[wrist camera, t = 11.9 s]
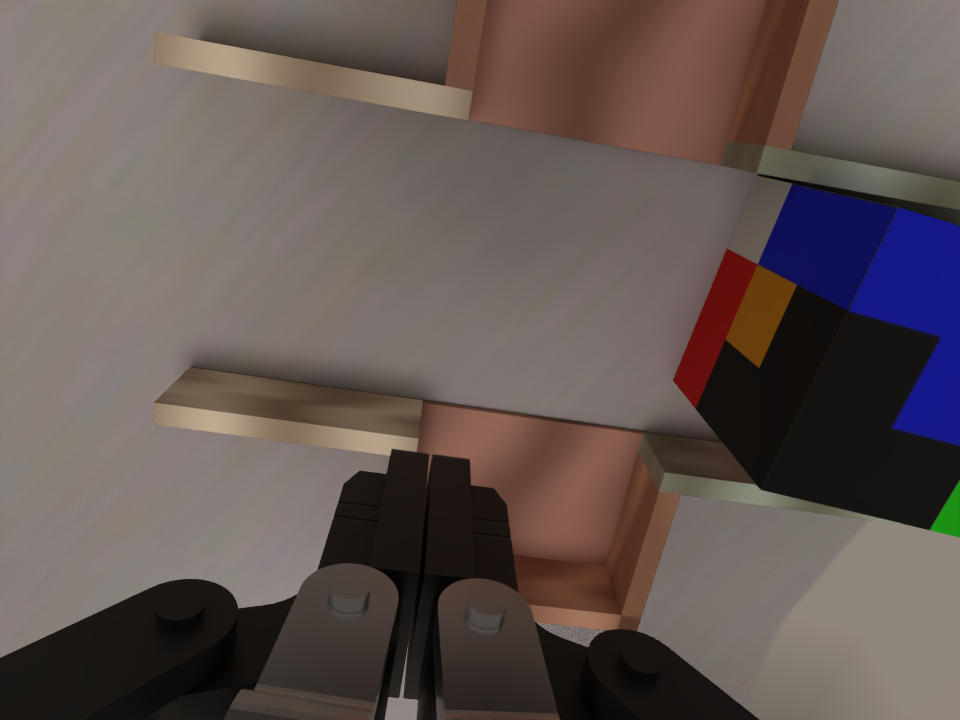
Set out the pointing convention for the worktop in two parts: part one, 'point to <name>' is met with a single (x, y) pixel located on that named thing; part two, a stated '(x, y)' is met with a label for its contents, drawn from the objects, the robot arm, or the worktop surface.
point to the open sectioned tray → (590, 117)
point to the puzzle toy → (836, 354)
